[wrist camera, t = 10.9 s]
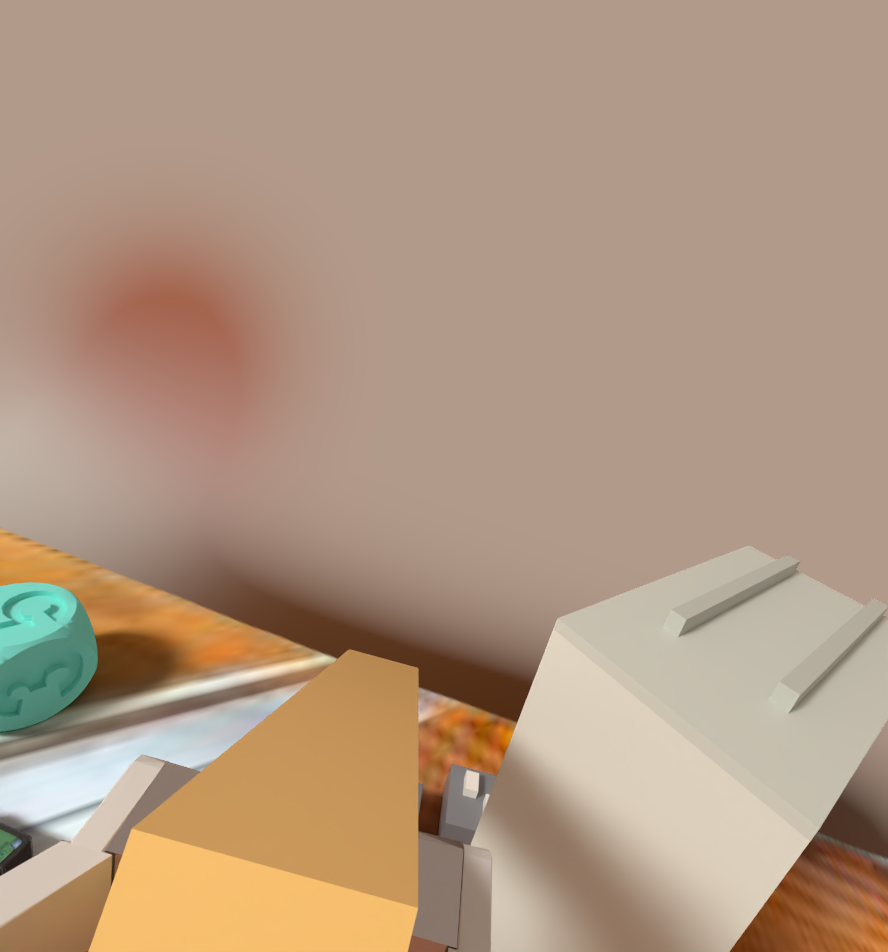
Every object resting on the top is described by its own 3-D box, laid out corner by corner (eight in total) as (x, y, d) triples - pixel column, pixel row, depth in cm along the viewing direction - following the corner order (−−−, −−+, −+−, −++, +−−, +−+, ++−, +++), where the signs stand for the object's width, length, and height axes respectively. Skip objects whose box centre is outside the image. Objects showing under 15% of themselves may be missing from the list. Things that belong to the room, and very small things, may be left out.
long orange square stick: (352, 688, 34) (367, 634, 35) (404, 702, 34) (418, 648, 35) (3, 1192, 5) (131, 828, 6) (328, 1285, 5) (417, 907, 6)
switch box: (537, 815, 44) (551, 783, 43) (541, 878, 40) (557, 844, 38) (443, 789, 44) (454, 756, 43) (435, 849, 40) (448, 815, 38)
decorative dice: (-62, 688, 42) (-74, 604, 39) (56, 644, 49) (53, 570, 46) (-23, 753, 38) (-33, 666, 36) (99, 696, 45) (99, 619, 42)
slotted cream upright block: (620, 794, 48) (754, 533, 38) (741, 914, 41) (945, 629, 31) (428, 952, 34) (564, 600, 24) (561, 1180, 26) (835, 807, 17)
